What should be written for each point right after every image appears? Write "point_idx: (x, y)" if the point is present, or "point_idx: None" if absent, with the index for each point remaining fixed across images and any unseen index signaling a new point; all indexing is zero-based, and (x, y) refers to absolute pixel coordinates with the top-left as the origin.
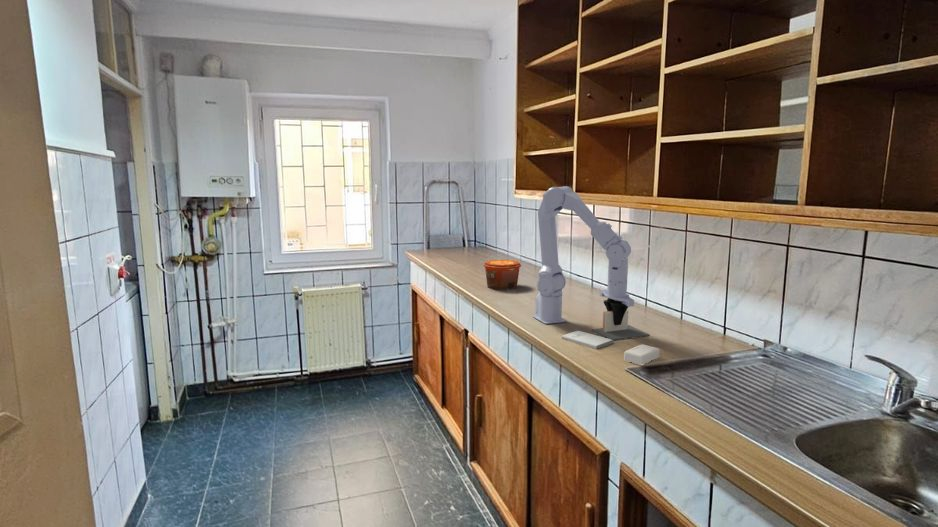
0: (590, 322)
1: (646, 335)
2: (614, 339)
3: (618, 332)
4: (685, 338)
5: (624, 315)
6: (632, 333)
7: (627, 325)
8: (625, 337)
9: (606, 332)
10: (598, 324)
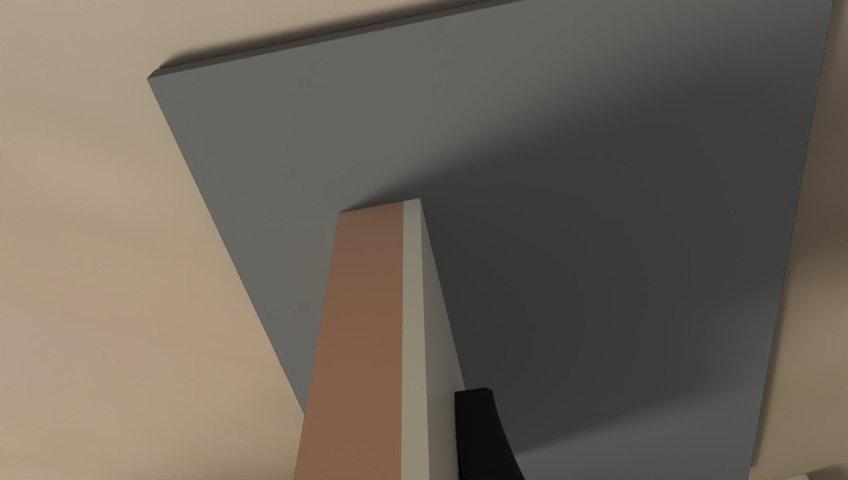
0: (21, 463)
1: (821, 14)
2: (749, 457)
3: (544, 360)
4: None
5: (444, 462)
6: (656, 216)
7: (420, 238)
8: (766, 357)
9: None
10: (103, 417)
